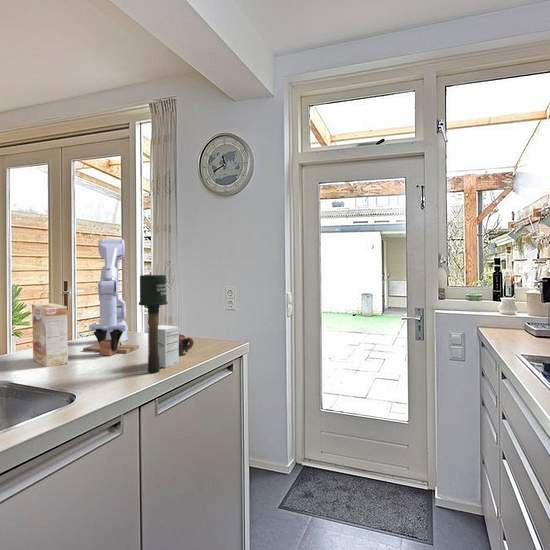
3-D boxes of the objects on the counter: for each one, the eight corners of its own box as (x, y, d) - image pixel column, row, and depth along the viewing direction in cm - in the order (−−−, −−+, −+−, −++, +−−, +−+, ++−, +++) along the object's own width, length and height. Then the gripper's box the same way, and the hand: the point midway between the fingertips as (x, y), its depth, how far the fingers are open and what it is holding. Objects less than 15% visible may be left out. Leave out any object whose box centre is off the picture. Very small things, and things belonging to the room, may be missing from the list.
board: (97, 346, 166) (97, 343, 166) (138, 348, 163) (138, 345, 163) (83, 351, 157) (83, 348, 157) (126, 353, 154) (126, 349, 154)
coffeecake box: (32, 359, 144) (31, 304, 143) (54, 356, 149) (53, 302, 148) (45, 367, 133) (44, 307, 133) (68, 363, 138) (67, 305, 138)
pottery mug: (159, 357, 149) (158, 336, 153) (171, 363, 157) (170, 343, 161) (189, 350, 147) (188, 328, 151) (200, 356, 156) (198, 336, 159)
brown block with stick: (116, 348, 161) (116, 335, 161) (126, 349, 160) (125, 336, 160) (99, 355, 150) (99, 341, 150) (109, 355, 149) (109, 341, 149)
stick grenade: (160, 376, 123) (159, 275, 122) (133, 374, 125) (132, 275, 124) (172, 369, 131) (172, 274, 130) (148, 367, 133) (147, 274, 132)
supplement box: (147, 366, 135) (146, 327, 135) (162, 361, 142) (161, 324, 142) (165, 368, 132) (164, 329, 132) (179, 363, 139) (179, 325, 139)
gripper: (83, 314, 149) (84, 351, 149) (120, 314, 146) (120, 352, 147) (95, 311, 156) (95, 347, 156) (130, 312, 153) (131, 348, 154)
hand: (108, 349), depth 152 cm, fingers closed on brown block with stick, 4 cm apart
